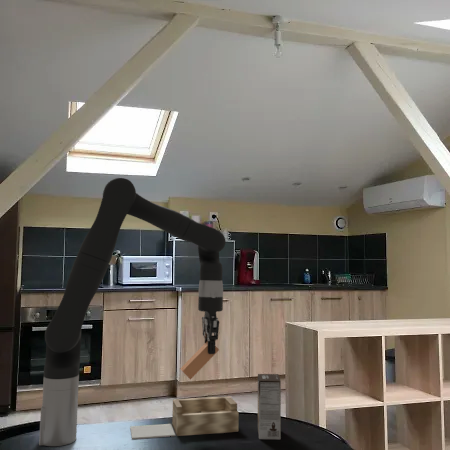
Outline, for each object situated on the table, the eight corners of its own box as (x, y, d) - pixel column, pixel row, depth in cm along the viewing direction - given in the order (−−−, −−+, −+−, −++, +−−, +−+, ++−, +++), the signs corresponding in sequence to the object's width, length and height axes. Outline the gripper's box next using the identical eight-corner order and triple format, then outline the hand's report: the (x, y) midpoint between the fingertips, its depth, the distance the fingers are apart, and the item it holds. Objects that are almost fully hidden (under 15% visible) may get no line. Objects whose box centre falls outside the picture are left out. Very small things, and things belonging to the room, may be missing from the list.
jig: (177, 436, 132) (177, 408, 133) (172, 425, 141) (172, 399, 142) (238, 431, 136) (238, 404, 137) (229, 421, 146) (229, 396, 147)
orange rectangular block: (190, 379, 137) (182, 371, 137) (188, 376, 141) (180, 368, 141) (219, 349, 140) (211, 341, 140) (216, 347, 144) (208, 339, 144)
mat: (132, 439, 129) (132, 437, 129) (130, 427, 138) (130, 426, 138) (175, 436, 132) (175, 434, 132) (170, 425, 141) (170, 423, 141)
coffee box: (257, 428, 139) (257, 373, 141) (278, 429, 139) (278, 373, 140) (258, 439, 130) (258, 380, 131) (281, 439, 130) (281, 380, 131)
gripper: (194, 294, 149) (193, 349, 147) (203, 296, 136) (202, 356, 134) (217, 294, 151) (216, 348, 149) (228, 296, 137) (227, 356, 136)
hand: (209, 352), depth 141 cm, fingers closed on orange rectangular block, 4 cm apart
